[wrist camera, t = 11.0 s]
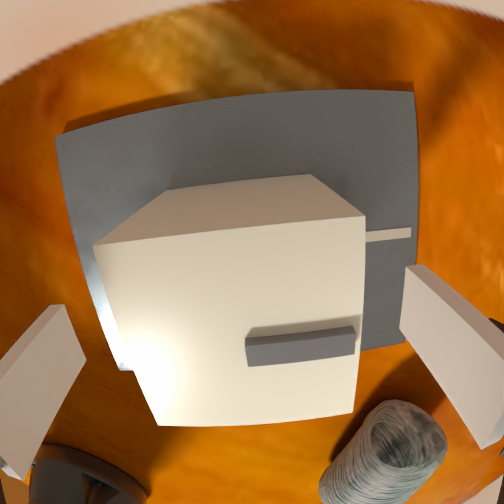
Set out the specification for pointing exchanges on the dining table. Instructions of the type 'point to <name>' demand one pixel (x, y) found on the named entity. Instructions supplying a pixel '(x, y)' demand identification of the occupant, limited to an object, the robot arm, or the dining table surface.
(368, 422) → the spool
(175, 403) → the white drawer box
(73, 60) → the dining table surface
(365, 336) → the gray board
